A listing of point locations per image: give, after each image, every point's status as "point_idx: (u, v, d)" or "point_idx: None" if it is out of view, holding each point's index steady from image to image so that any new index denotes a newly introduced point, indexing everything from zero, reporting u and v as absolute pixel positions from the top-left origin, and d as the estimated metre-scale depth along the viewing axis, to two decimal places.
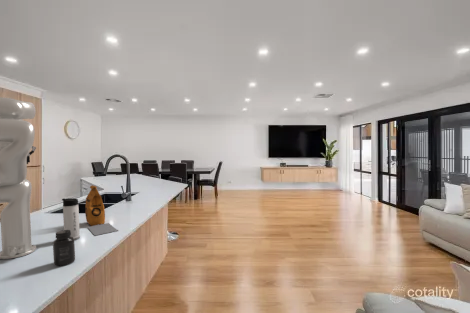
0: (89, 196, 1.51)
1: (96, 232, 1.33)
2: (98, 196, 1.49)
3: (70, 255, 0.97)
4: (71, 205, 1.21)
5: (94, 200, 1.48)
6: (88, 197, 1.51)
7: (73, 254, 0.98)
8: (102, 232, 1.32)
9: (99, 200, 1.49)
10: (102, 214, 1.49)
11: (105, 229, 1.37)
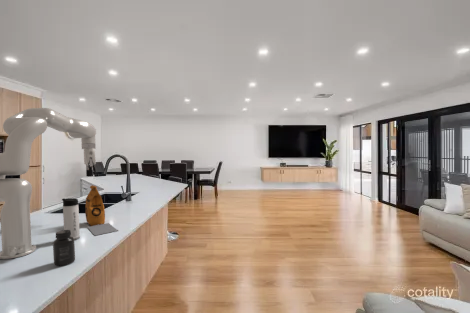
0: (89, 196, 1.51)
1: (96, 232, 1.33)
2: (98, 196, 1.49)
3: (70, 255, 0.97)
4: (71, 205, 1.21)
5: (94, 200, 1.48)
6: (88, 197, 1.51)
7: (73, 254, 0.98)
8: (102, 232, 1.32)
9: (99, 200, 1.49)
10: (102, 214, 1.49)
11: (105, 229, 1.37)
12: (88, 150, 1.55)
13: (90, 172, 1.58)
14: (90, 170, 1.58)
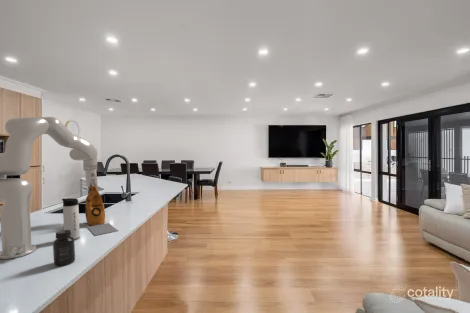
0: (89, 196, 1.51)
1: (96, 232, 1.33)
2: (98, 196, 1.49)
3: (70, 255, 0.97)
4: (71, 205, 1.21)
5: (94, 200, 1.48)
6: (88, 197, 1.51)
7: (73, 254, 0.98)
8: (102, 232, 1.32)
9: (99, 200, 1.49)
10: (102, 214, 1.49)
11: (105, 229, 1.37)
12: (90, 172, 1.53)
13: None
14: None
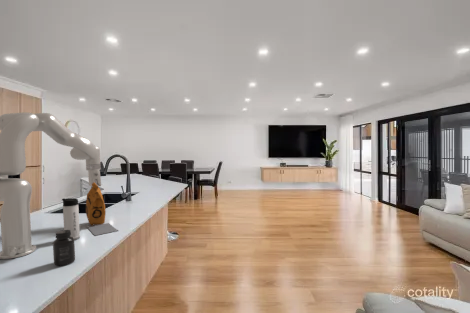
0: (90, 195, 1.45)
1: (96, 232, 1.33)
2: (100, 199, 1.43)
3: (70, 255, 0.97)
4: (71, 205, 1.21)
5: (95, 202, 1.43)
6: (89, 195, 1.45)
7: (73, 254, 0.98)
8: (102, 232, 1.32)
9: (100, 203, 1.44)
10: (103, 216, 1.47)
11: (105, 229, 1.37)
12: (93, 172, 1.47)
13: None
14: None
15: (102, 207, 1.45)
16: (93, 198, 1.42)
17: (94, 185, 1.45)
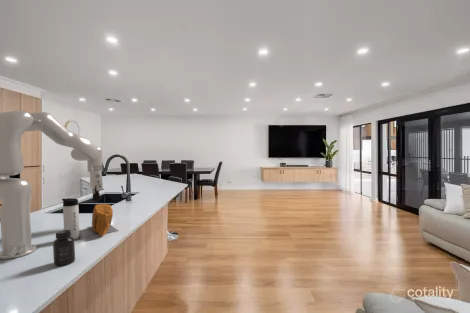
0: (98, 219, 1.30)
1: (96, 232, 1.33)
2: None
3: (70, 255, 0.97)
4: (71, 205, 1.21)
5: None
6: (97, 218, 1.30)
7: (73, 254, 0.98)
8: None
9: None
10: None
11: None
12: (95, 173, 1.43)
13: (96, 196, 1.47)
14: (97, 194, 1.47)
15: None
16: (98, 227, 1.30)
17: (104, 220, 1.26)
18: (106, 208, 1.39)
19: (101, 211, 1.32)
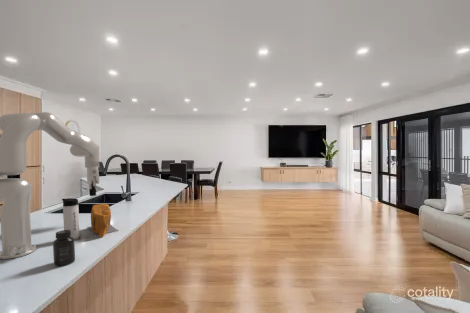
0: (97, 220, 1.29)
1: None
2: None
3: (70, 255, 0.97)
4: (71, 205, 1.21)
5: None
6: (95, 219, 1.29)
7: (73, 254, 0.98)
8: None
9: (105, 229, 1.33)
10: None
11: None
12: (92, 169, 1.48)
13: (93, 191, 1.51)
14: (93, 189, 1.51)
15: None
16: (98, 228, 1.29)
17: (102, 221, 1.25)
18: (104, 208, 1.38)
19: (99, 212, 1.31)
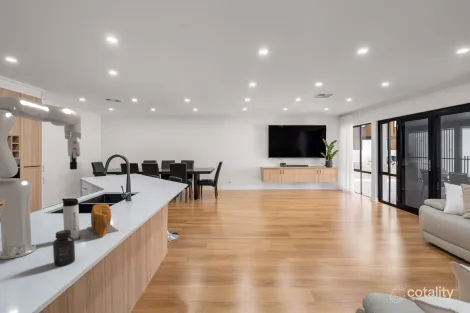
0: (97, 220, 1.29)
1: None
2: None
3: (70, 255, 0.97)
4: (71, 205, 1.21)
5: None
6: (96, 219, 1.29)
7: (73, 254, 0.98)
8: None
9: (105, 229, 1.33)
10: None
11: None
12: (72, 140, 1.38)
13: (73, 164, 1.41)
14: (74, 162, 1.41)
15: None
16: (98, 228, 1.29)
17: (102, 221, 1.25)
18: (104, 208, 1.38)
19: (99, 212, 1.32)
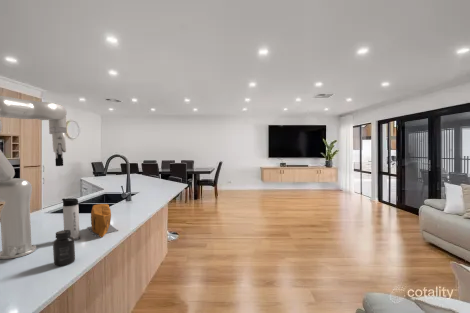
0: (97, 220, 1.29)
1: None
2: None
3: (70, 255, 0.97)
4: (71, 205, 1.21)
5: None
6: (96, 219, 1.29)
7: (73, 254, 0.98)
8: None
9: (105, 229, 1.33)
10: None
11: None
12: (56, 135, 1.31)
13: (59, 161, 1.34)
14: (60, 159, 1.34)
15: None
16: (98, 228, 1.29)
17: (102, 221, 1.25)
18: (104, 208, 1.38)
19: (99, 212, 1.31)
